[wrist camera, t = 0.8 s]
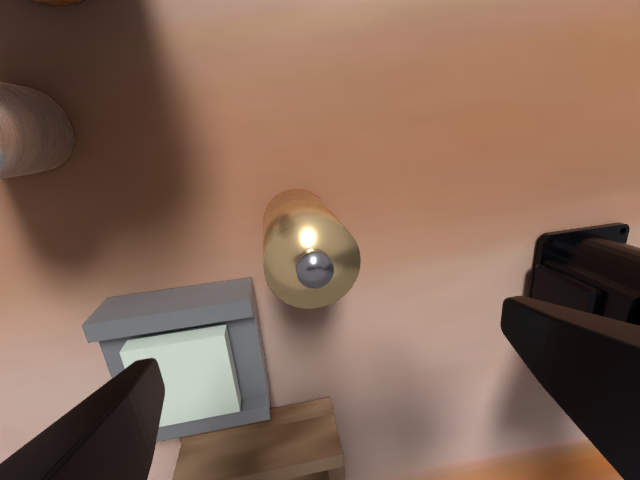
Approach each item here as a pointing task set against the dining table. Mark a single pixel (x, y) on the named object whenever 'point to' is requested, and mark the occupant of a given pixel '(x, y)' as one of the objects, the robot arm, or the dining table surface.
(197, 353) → the checker pad
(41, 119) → the cell steel
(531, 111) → the dining table surface
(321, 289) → the cell bronze
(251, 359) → the base
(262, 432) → the wooden open box
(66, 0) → the disposable coffee cup
